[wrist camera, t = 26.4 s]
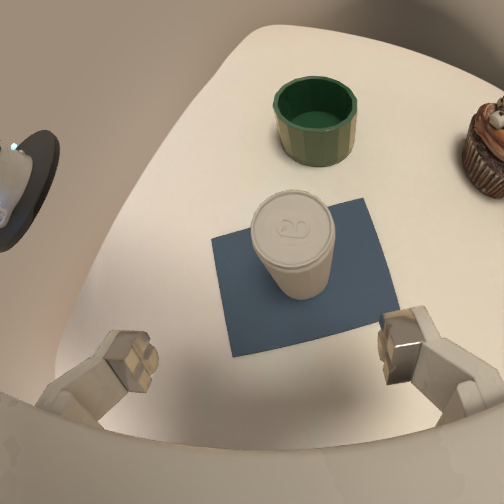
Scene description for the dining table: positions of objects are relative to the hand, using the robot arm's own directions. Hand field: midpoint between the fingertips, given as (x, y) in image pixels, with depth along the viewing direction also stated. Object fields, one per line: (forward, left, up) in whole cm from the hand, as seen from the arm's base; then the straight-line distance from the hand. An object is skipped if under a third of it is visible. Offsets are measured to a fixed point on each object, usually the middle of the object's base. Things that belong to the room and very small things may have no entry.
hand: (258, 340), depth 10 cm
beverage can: (+2, +6, -17) cm, 18 cm away
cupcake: (+28, +12, -18) cm, 35 cm away
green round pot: (+8, +21, -17) cm, 28 cm away
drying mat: (+2, +6, -17) cm, 19 cm away
